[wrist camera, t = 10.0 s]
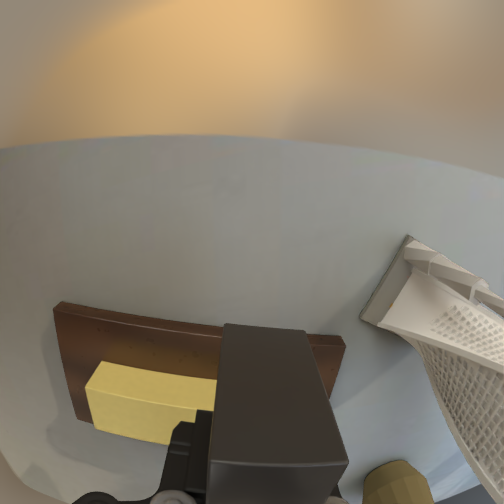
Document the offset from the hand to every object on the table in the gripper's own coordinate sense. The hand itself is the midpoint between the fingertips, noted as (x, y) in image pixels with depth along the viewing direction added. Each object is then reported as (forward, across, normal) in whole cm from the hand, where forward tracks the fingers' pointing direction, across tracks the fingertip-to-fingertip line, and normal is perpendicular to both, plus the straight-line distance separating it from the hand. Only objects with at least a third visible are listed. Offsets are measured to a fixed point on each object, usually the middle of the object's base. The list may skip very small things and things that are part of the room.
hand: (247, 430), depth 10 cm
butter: (+11, +6, +8) cm, 15 cm away
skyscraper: (+12, -14, -1) cm, 18 cm away
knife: (0, 0, +5) cm, 5 cm away
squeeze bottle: (+12, -20, +22) cm, 32 cm away
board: (+12, +4, +8) cm, 15 cm away
